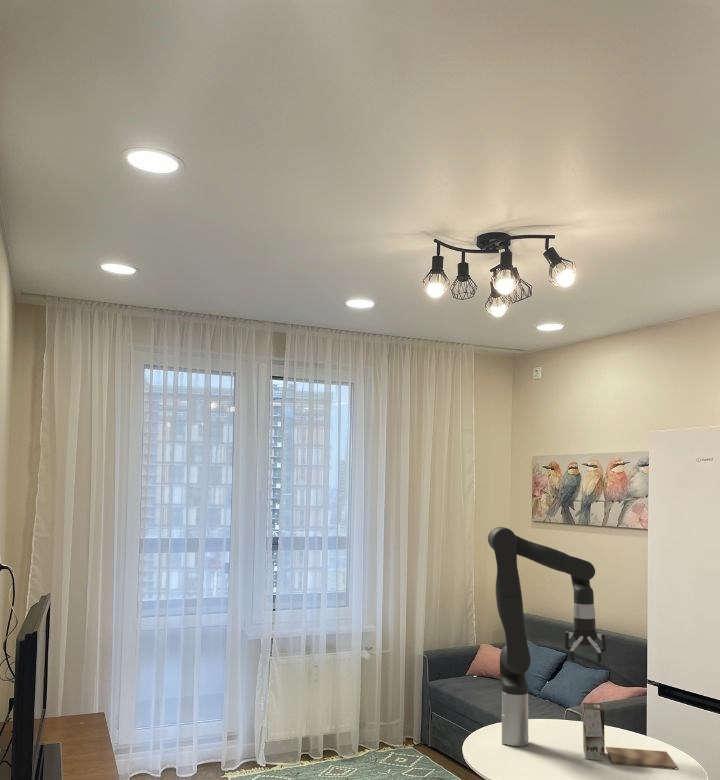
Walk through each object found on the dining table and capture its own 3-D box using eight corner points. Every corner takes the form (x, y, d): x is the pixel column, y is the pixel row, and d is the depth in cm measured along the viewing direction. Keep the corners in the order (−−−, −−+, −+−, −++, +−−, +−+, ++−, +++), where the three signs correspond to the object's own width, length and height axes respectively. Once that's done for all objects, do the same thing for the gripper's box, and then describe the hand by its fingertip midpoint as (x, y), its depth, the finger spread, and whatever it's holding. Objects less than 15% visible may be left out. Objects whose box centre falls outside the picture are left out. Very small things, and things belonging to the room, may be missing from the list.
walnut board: (612, 763, 247) (612, 761, 247) (605, 749, 262) (605, 746, 262) (677, 769, 244) (676, 766, 244) (666, 754, 258) (666, 751, 258)
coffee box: (605, 761, 250) (604, 710, 252) (585, 759, 251) (584, 708, 253) (602, 752, 258) (601, 703, 261) (582, 750, 260) (582, 701, 262)
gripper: (563, 616, 271) (565, 663, 269) (605, 618, 267) (607, 666, 265) (564, 613, 278) (565, 659, 276) (604, 615, 274) (606, 661, 272)
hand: (586, 662), depth 271 cm, fingers open, 8 cm apart
